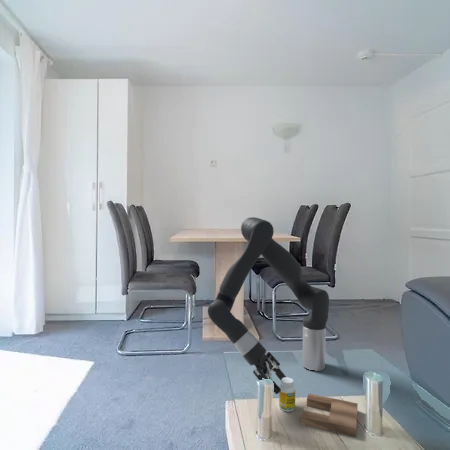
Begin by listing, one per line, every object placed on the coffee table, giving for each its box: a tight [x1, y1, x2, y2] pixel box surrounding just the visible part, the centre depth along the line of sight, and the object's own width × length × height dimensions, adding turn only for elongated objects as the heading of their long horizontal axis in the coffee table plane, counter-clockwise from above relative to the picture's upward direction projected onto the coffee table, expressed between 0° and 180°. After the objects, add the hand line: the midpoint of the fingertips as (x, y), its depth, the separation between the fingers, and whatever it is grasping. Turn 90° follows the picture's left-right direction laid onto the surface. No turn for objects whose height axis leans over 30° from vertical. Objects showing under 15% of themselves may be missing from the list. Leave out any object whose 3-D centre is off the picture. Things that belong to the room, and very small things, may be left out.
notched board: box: [300, 393, 359, 438], centre depth 115 cm, size 14×16×2 cm
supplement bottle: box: [278, 376, 296, 413], centre depth 120 cm, size 5×5×10 cm
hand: (281, 386), depth 120 cm, fingers open, 8 cm apart
